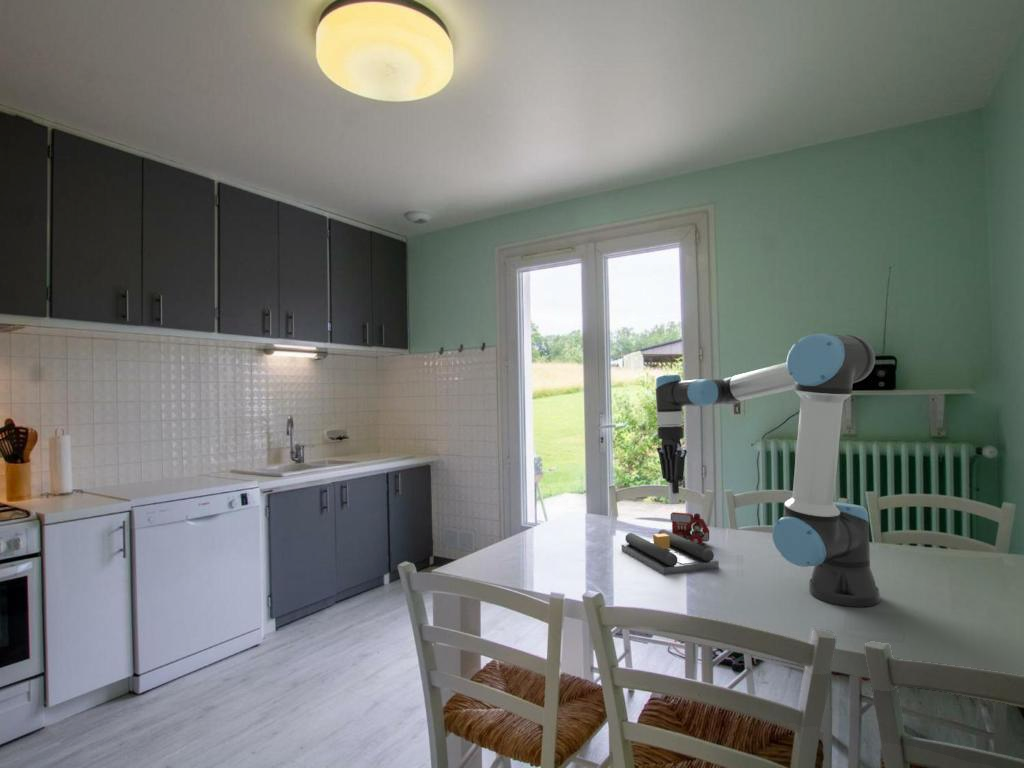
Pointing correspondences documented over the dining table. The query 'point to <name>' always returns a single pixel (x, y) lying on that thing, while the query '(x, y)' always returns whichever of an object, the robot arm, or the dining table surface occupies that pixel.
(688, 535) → the toy fire truck
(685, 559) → the panel
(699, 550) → the dark grey cylindrical rod
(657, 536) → the tan cardboard-colored block
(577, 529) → the dining table surface
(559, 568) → the dining table surface
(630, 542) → the dark grey cylinder rod
